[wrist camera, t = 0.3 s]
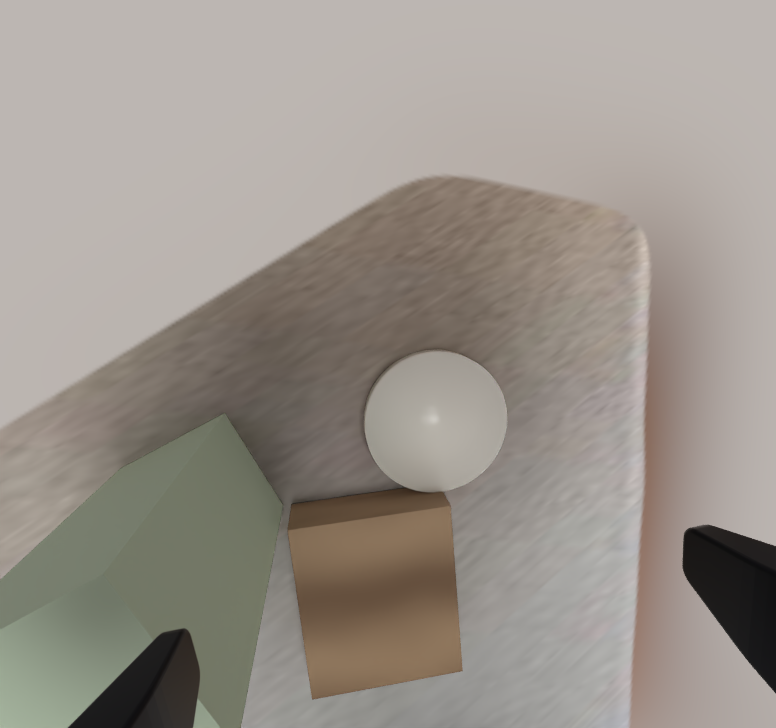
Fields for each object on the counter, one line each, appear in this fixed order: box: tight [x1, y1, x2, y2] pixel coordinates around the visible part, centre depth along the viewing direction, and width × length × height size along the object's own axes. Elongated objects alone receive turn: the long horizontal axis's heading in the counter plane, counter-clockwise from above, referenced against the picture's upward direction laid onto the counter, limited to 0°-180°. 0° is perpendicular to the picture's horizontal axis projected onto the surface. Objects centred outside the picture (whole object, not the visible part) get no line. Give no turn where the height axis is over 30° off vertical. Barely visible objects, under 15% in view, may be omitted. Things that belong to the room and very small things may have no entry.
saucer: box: [364, 349, 507, 492], centre depth 23 cm, size 7×7×1 cm
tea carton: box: [0, 413, 283, 728], centre depth 17 cm, size 6×6×12 cm
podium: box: [288, 488, 462, 699], centre depth 24 cm, size 9×8×2 cm
